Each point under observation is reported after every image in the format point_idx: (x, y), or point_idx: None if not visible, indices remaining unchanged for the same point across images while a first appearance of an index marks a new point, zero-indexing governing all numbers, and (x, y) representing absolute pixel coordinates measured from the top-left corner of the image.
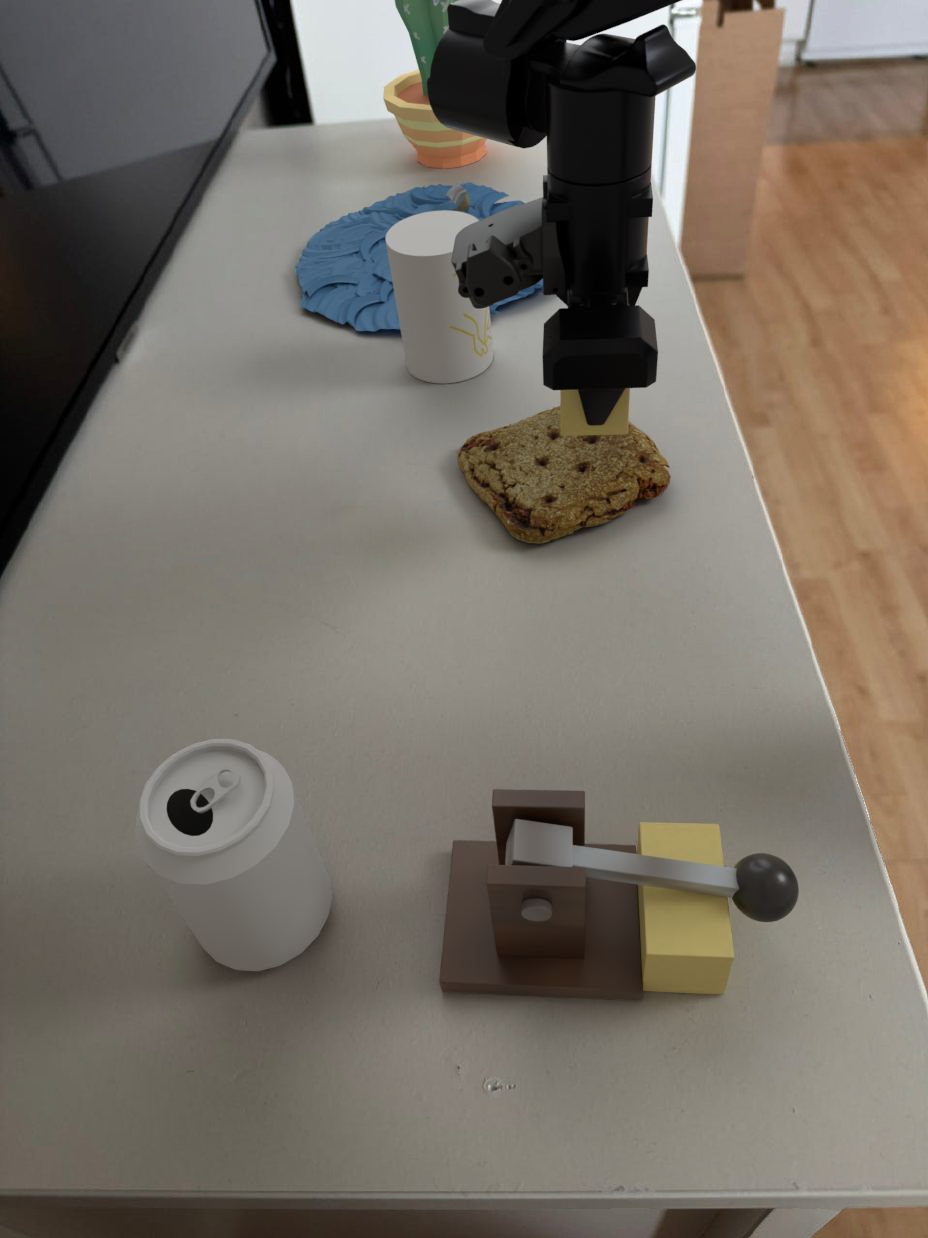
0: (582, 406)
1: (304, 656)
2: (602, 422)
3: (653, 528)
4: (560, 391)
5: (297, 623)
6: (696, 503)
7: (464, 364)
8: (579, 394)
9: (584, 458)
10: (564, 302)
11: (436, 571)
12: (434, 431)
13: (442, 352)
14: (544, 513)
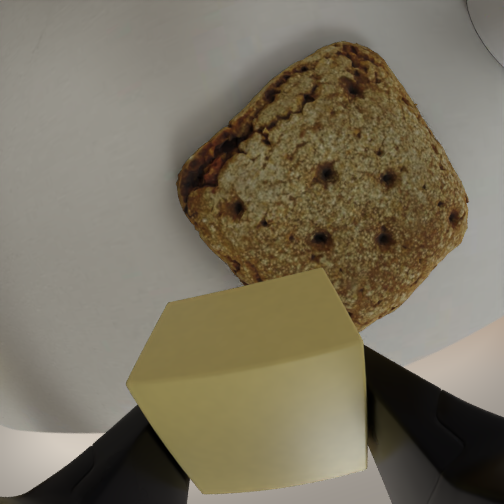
0: (131, 410)
1: (11, 47)
2: None
3: None
4: (127, 380)
5: (40, 15)
6: None
7: (497, 39)
8: (98, 439)
9: (340, 238)
10: (484, 495)
11: (119, 93)
12: (389, 10)
13: (496, 10)
14: (208, 208)
